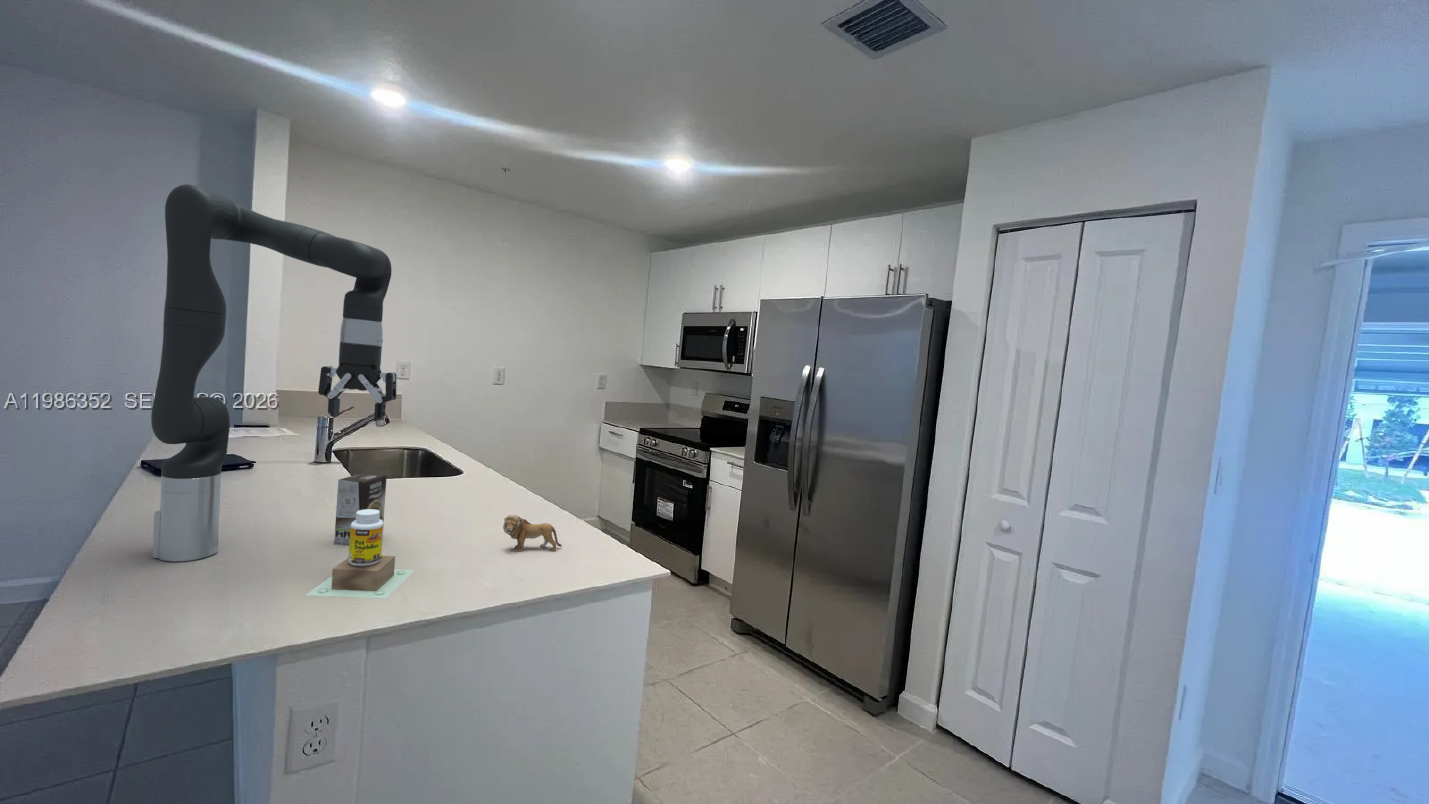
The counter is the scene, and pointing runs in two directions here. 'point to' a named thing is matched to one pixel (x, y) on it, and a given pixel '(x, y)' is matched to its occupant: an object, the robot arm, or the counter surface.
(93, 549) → the counter surface
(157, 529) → the robot arm
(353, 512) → the coffee box
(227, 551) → the counter surface
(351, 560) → the supplement bottle
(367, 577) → the walnut block
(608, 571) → the counter surface
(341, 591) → the plate
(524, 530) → the lion figurine
